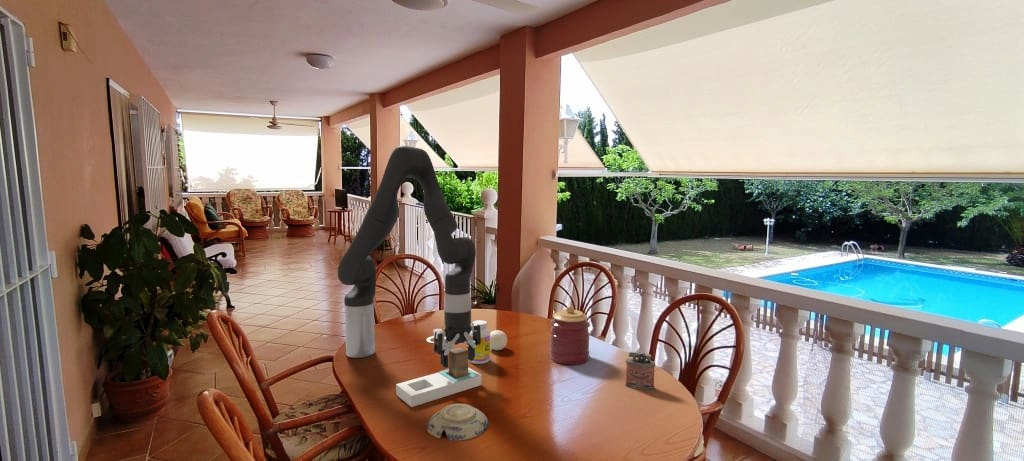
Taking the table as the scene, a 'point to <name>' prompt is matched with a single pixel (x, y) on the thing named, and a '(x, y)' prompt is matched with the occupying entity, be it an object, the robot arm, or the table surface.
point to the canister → (569, 337)
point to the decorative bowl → (458, 422)
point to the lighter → (640, 371)
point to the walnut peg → (458, 362)
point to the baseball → (497, 340)
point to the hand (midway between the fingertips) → (458, 363)
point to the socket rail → (435, 386)
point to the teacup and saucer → (434, 334)
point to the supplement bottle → (482, 344)
